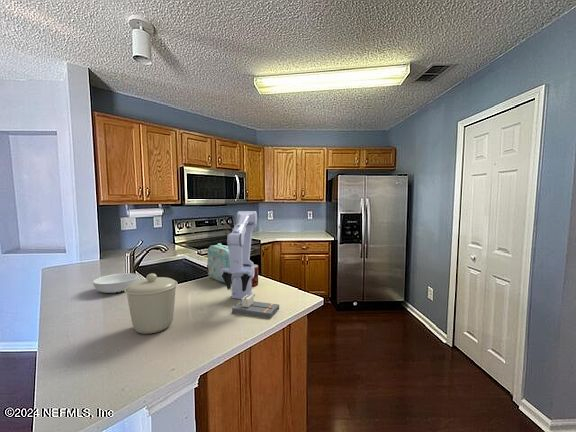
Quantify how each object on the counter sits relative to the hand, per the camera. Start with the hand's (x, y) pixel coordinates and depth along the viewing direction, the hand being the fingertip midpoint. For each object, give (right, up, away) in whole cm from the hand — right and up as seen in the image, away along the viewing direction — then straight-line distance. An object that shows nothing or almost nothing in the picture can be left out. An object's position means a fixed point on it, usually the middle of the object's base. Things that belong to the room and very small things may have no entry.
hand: (236, 289), depth 122 cm
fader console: (+9, -9, -3) cm, 13 cm away
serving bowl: (-70, -8, +26) cm, 75 cm away
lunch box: (-17, -6, +45) cm, 48 cm away
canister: (-29, -10, -17) cm, 35 cm away
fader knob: (+5, -6, -1) cm, 8 cm away
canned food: (+2, -6, +34) cm, 34 cm away
